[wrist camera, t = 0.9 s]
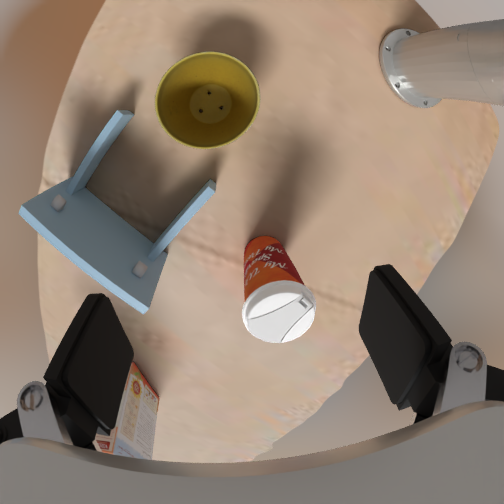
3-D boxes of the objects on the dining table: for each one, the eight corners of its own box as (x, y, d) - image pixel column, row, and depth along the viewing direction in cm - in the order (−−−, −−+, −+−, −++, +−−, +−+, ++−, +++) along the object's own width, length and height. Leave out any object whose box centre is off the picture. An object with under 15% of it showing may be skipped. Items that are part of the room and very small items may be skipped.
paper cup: (266, 217, 36) (288, 273, 24) (301, 253, 39) (333, 317, 27) (224, 254, 38) (225, 322, 26) (260, 286, 41) (275, 356, 29)
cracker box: (110, 361, 47) (85, 449, 29) (135, 360, 47) (114, 454, 29) (137, 398, 54) (125, 475, 35) (160, 398, 54) (151, 478, 35)
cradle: (120, 103, 27) (73, 101, 17) (225, 191, 34) (225, 227, 24) (68, 183, 31) (18, 213, 20) (163, 259, 38) (143, 314, 27)
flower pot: (188, 54, 26) (179, 39, 19) (266, 82, 28) (277, 73, 22) (157, 128, 29) (140, 131, 23) (233, 155, 32) (234, 164, 26)
